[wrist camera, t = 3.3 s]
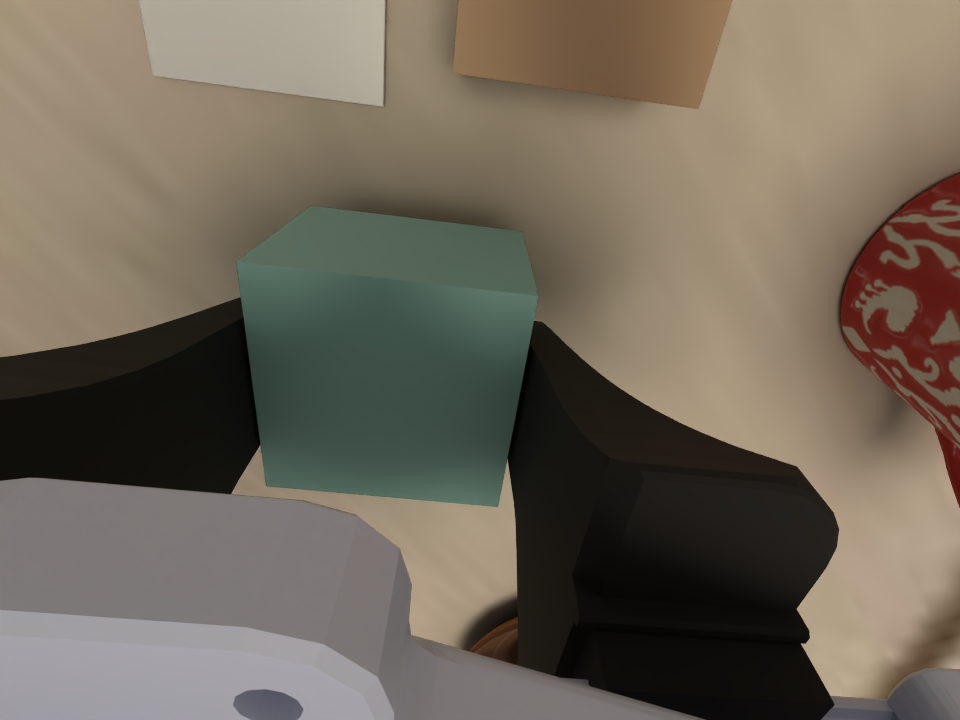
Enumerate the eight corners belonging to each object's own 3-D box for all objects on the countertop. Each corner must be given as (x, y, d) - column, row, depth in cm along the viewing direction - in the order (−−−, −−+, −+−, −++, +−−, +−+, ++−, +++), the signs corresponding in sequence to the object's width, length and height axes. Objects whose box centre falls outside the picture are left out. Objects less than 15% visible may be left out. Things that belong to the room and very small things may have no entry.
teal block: (319, 384, 14) (265, 486, 10) (310, 205, 11) (235, 261, 8) (494, 402, 14) (498, 506, 11) (522, 231, 12) (538, 295, 8)
